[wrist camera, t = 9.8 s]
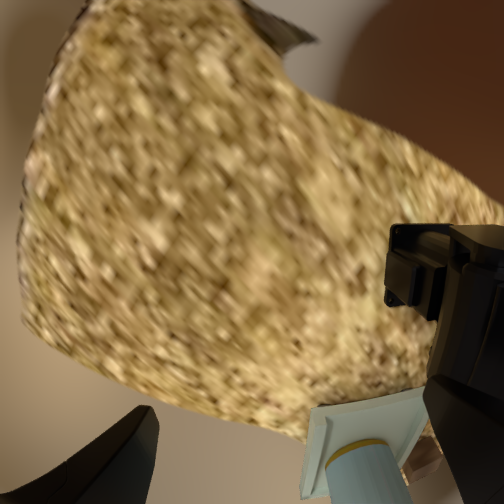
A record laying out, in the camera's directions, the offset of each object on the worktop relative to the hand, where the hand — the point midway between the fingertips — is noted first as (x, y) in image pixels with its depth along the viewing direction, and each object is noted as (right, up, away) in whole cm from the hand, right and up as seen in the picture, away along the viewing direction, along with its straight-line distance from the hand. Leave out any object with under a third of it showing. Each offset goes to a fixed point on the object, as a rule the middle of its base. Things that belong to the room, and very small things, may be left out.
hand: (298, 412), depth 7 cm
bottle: (+9, -16, +14) cm, 24 cm away
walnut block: (+21, -23, +19) cm, 37 cm away
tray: (+10, -16, +17) cm, 25 cm away
